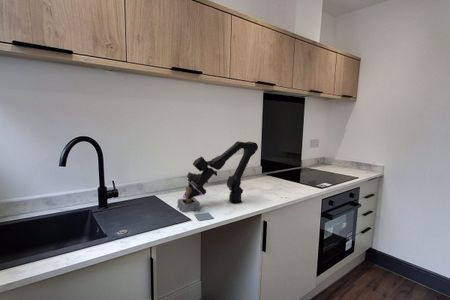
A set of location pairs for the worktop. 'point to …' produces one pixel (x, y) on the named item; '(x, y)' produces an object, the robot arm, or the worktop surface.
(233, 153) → the robot arm
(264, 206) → the worktop surface
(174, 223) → the worktop surface
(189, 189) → the walnut peg
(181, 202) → the grey socket block
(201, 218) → the rubber mat
